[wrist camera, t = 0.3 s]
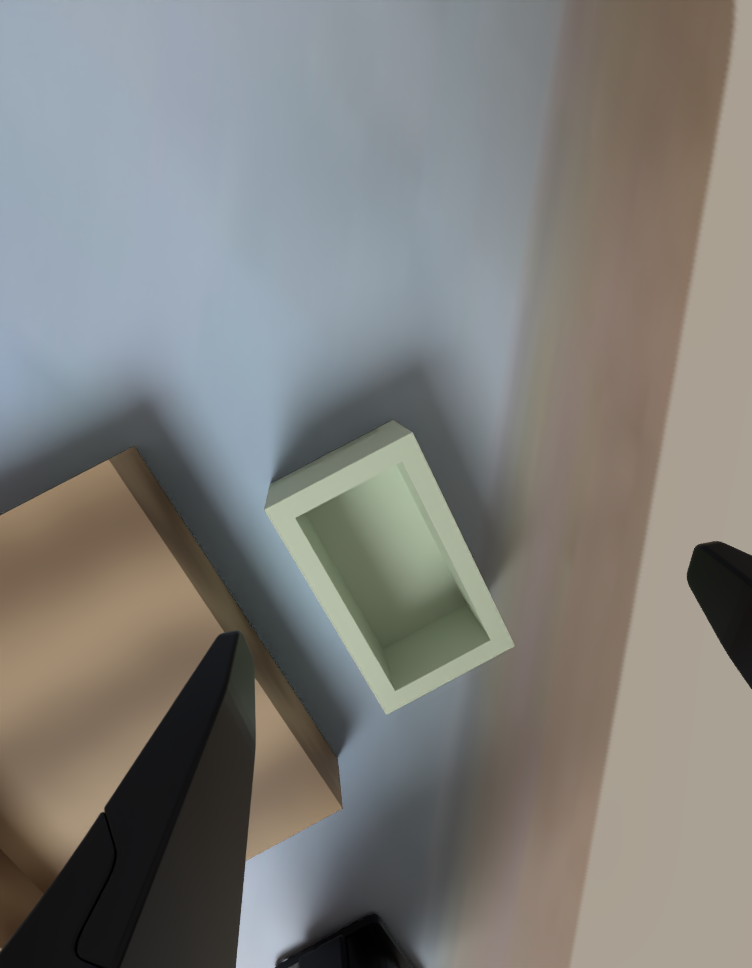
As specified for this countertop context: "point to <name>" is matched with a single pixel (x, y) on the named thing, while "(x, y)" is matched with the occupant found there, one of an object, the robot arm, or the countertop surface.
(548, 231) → the countertop surface
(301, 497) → the sage tray
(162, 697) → the walnut shelf
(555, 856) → the countertop surface
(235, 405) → the countertop surface
